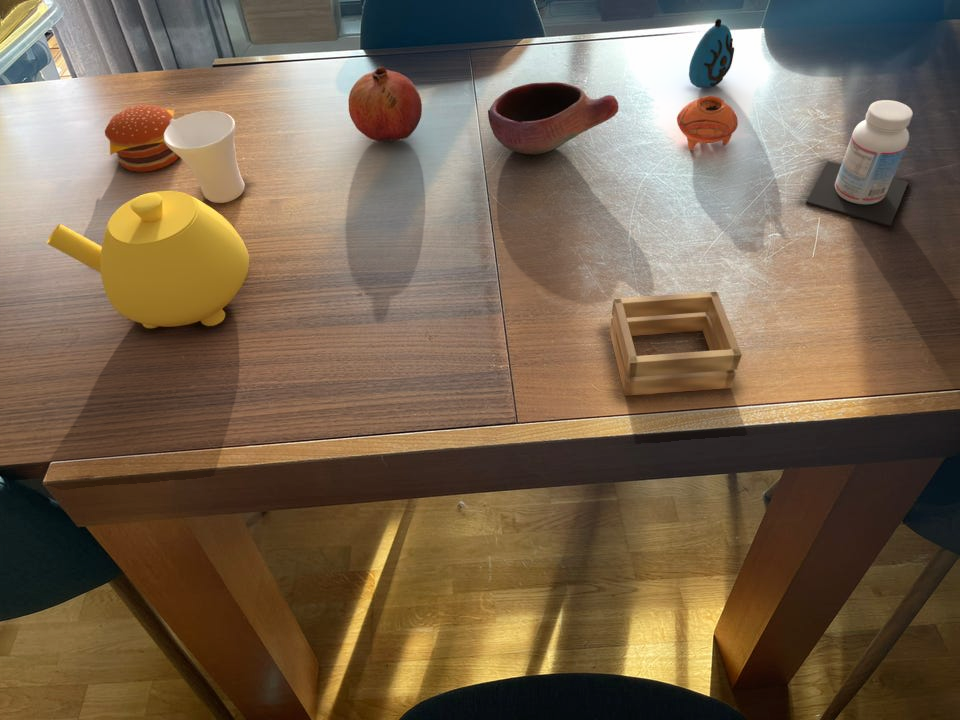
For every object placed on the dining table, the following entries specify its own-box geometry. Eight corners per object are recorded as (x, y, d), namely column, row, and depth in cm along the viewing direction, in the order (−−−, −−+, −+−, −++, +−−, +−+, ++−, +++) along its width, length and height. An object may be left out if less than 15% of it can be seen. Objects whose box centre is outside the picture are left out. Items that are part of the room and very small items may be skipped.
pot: (737, 126, 103) (747, 88, 97) (725, 168, 100) (735, 131, 94) (680, 116, 105) (687, 78, 99) (667, 156, 102) (673, 119, 96)
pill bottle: (882, 180, 94) (917, 98, 85) (886, 209, 90) (923, 126, 81) (831, 175, 95) (861, 94, 87) (833, 203, 91) (864, 121, 83)
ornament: (702, 101, 109) (715, 34, 102) (677, 90, 111) (688, 24, 104) (736, 80, 112) (751, 14, 105) (710, 70, 115) (723, 5, 107)
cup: (220, 166, 103) (196, 101, 96) (269, 184, 100) (249, 118, 92) (173, 200, 99) (144, 134, 91) (223, 220, 95) (198, 153, 88)
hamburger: (118, 145, 108) (98, 104, 104) (184, 132, 110) (168, 90, 105) (118, 180, 102) (97, 137, 97) (188, 165, 104) (171, 122, 99)
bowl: (504, 178, 98) (503, 124, 92) (480, 129, 107) (478, 76, 101) (617, 157, 100) (623, 102, 95) (585, 110, 109) (589, 58, 103)
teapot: (63, 351, 81) (-4, 255, 71) (109, 258, 91) (56, 162, 81) (243, 344, 80) (202, 246, 70) (269, 251, 91) (236, 154, 80)
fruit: (435, 144, 105) (428, 77, 97) (370, 164, 102) (357, 97, 95) (408, 110, 111) (399, 45, 104) (345, 128, 109) (332, 62, 101)
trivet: (907, 183, 94) (908, 181, 93) (890, 227, 88) (891, 225, 88) (826, 162, 97) (827, 160, 97) (805, 203, 92) (805, 201, 92)
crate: (707, 325, 79) (717, 290, 75) (731, 388, 73) (742, 354, 69) (609, 332, 79) (613, 298, 75) (624, 396, 73) (630, 362, 69)
